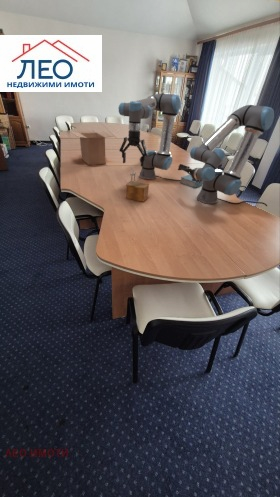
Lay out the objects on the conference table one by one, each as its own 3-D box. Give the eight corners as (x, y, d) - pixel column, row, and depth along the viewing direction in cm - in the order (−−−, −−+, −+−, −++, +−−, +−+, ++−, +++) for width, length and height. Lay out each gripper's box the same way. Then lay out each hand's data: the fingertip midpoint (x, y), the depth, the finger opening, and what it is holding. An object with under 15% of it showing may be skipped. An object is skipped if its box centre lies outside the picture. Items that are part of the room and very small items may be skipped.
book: (194, 177, 212) (195, 172, 209) (208, 182, 203) (210, 177, 200) (180, 182, 199) (181, 177, 196) (194, 188, 190) (196, 182, 187)
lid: (126, 185, 160) (126, 173, 155) (131, 181, 167) (131, 170, 162) (144, 189, 156) (145, 177, 151) (148, 185, 163) (149, 173, 158)
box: (116, 165, 229) (116, 136, 213) (83, 168, 214) (80, 137, 198) (102, 154, 259) (101, 128, 243) (71, 156, 244) (68, 129, 228)
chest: (126, 198, 165) (126, 186, 160) (131, 193, 173) (132, 181, 167) (143, 201, 162) (144, 189, 156) (147, 197, 169) (148, 185, 163)
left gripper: (114, 128, 142) (114, 162, 155) (150, 133, 135) (147, 168, 148) (119, 127, 148) (119, 160, 160) (154, 131, 141) (151, 165, 154)
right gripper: (180, 168, 139) (170, 168, 159) (209, 189, 148) (195, 187, 167) (187, 157, 138) (175, 159, 158) (215, 179, 146) (201, 178, 166)
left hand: (133, 164), depth 154 cm, fingers open, 13 cm apart
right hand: (186, 173), depth 162 cm, fingers open, 13 cm apart
